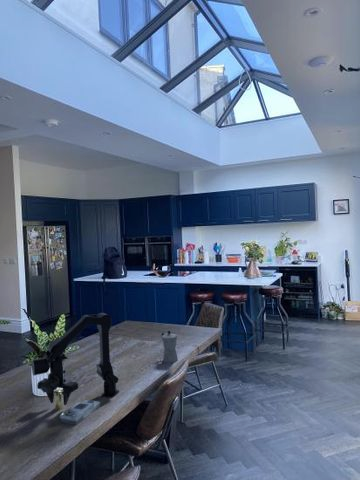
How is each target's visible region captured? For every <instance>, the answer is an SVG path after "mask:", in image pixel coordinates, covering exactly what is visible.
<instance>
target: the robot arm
mask: <svg viewBox="0 0 360 480" xmlns="http://www.w3.org/2000/svg"><path fill="white" fill-rule="evenodd" d="M112 320H113V319H112V317H111V316H110V315H109V314H106V313H104V312H99V313H98V314H84V315H82V317H81V318H80V319H78V321H77V322H75V323H74V325H73V326H71V327H70V328H69V329H68V330H67V331H65V333H64V334H63V335H62V336H60V337H56V338H54V340H53V341H51V342H50V343H49V344H48V346H47V350H46V351H45V353H44V355H43V357H41V358H40V357H39V358H33V359H32V363H31V373H32V376H37V375H44V374H46V373H48V372H49V371H50V372H49V373H48V378H43V379H40V381H39V380H38V382H37V384H36V385H37V387H36V389H38V390H41V391H42V392H43V393H45V394H46V395H47V398H48V400H49V402H50V404H54V403H53V402H54V401H55V398H54V391H55V390H58V388H59V389H62V392H61V393H62V401H63V406H66V405H67V404H68V401H69V399H70V396H71V394H72V393H73V392H74V391H76V390H77V389H79V384H78V382H77V381H69V382H67V380H66V379H65V374H66V369H65V370H64V360H68V357H67V355H65V354H64V353H65V352H66V350H67V348H68V346H69V344H70V343H71V342H72V341H73V340H74V339H75V338H77V336H78V335H79V334H80V333H81V332H82V331H83V330H84V329H85V328H87V326H89V325H95V326H96V327H97V329H98V332H99V355H100V357H99V359H100V361H99V364H96V374H97V375H98V376H99V378H101V380H103V393H101V396H103V397H113V398H114V396H115V395H117V394H118V393H119V392H120V390H119V389H117V383H119V377H118V376H116V375H115V374H114V369H113V368H114V367H113V366H112V364H111V361H110V360H111V358H110V357H111V356H110V354H111V353H110V330H111V327H112V322H113V321H112ZM66 382H67V383H66Z"/></svg>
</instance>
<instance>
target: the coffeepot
mask: <svg viewBox="0 0 360 480" xmlns="http://www.w3.org/2000/svg"><path fill="white" fill-rule="evenodd" d="M177 339H178V335H177V334H176V333H171V330H168V331H167V333H166V332H162V333H161V340H162V344H163V348H164V349H163V355H162V361H163V363H167V364H170V363H171V364H172V363H176V362H178V354H177V350H176V347H177Z"/></svg>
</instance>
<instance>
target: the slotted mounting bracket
mask: <svg viewBox="0 0 360 480" xmlns="http://www.w3.org/2000/svg"><path fill="white" fill-rule="evenodd" d="M100 406H101V401H97V400H93V399H85V400H83V401H77V402H76V403H75V404H73V405H72V406H71V407H69V408H68V409H66V410H65V411H64V412H62V413H60V416H59V417H60V423H65V424H70V425H74V426H75V425H76V426H77V425H78V424H79V423H80V422H81V421H83V420H84V419H85V418H87V416H89V415H90V414H92V413H93V412H94V411H95V410H96V409H98V408H99V407H100Z"/></svg>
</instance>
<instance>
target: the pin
mask: <svg viewBox="0 0 360 480" xmlns="http://www.w3.org/2000/svg"><path fill="white" fill-rule="evenodd" d="M61 392H63V389H56V390H54V410H56V411H60V410H62V409H63V394H62V393H61Z"/></svg>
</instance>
